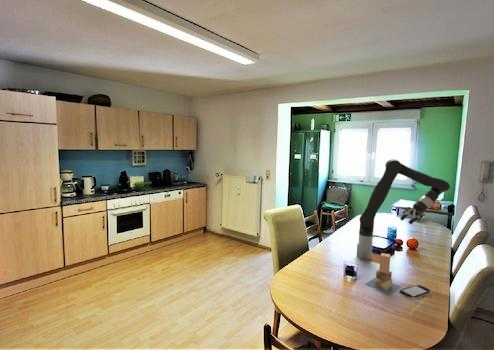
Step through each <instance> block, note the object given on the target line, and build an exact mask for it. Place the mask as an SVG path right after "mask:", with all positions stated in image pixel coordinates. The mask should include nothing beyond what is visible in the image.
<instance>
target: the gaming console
mask: <svg viewBox="0 0 494 350" xmlns="http://www.w3.org/2000/svg"><path fill="white" fill-rule="evenodd" d="M398 293H399V294H400V295H401V296H402V297H404V298H406V299H409V300H417V299H420V298H423V297H426V296H430V295H431V294H432V290H431V289H429V288H428V287H427V286H423V285H420V284H417V285H412V286H408V287H405V288H402V289H400V290H398Z"/></svg>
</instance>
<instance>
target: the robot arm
mask: <svg viewBox="0 0 494 350" xmlns="http://www.w3.org/2000/svg"><path fill="white" fill-rule="evenodd" d="M398 174H399V175H402V176H404V177H406V178H409V179H410V180H412V181H414V182H416V183H418V184H420V185H423V186H426V187H430V188H429V190H428V191H426V192H425V194H424V195H422V196H421V197H419V198H418V200H417V201H415V202H414V203H413V204H412V207H410V206H408V207H406V209H405V210H403V211H402V212H401V213H402V214H403V215H401V217H400V218H399V220H400V221H402V222H403V221H404V220H405V219H406V218H407V217H411V216H412V218H410V220H408V223H409V225H412V224H414V222H415V221H417V222H418V221H421V220H422V219H423V217H424V216H425V215H426V214H425V212H426V211H427V210H428V209H429V208H430V207H431V206H432V205H433V204H434V203H435V202H436V201H437V200H438V199H439V196H440V195H441V194H442V193H444V192H448V191H449V190H450V188H451V185H450V183H449V182H448V181H446V180H444V179H441V178H438V177H433V176H431V175H428V174H427V173H424V172H421V171H420V170H419V171H418V170H416V169H413V168H410V167H408V166H406V165H404V164H403V163H401V162H400V161H399V160H397V159H388V160H387V161H386V163H385V170H384V171H383V175H382V177H381V178H380V180H379V181H378V183H376V185H375V187H374V189H373V190H372V192H371V195H370V197H369V200H368V202H367V206H366V208H364V211H363V213H362V214H361V215H360V217H359V229H358V230H359V231H358V242H357V245H356V257H358V258H359V259H362V260H371V259H372V255H373V252H372V251H373V237H374V229H375V227H374V226H375V217H376V215H377V213H378V211H379V209H380V208H381V207H382V205H383V203H384V202H385V200H386V199H387V196H388V194H389V193H390V190H391V187H392V185H393V182H394V180H395V179H396V177H398Z"/></svg>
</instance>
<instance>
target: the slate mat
mask: <svg viewBox="0 0 494 350" xmlns="http://www.w3.org/2000/svg"><path fill="white" fill-rule="evenodd" d="M374 282H375V277H374V278H372V279H371V280H369V281H367V282H366V283H365V284H364V285H365V286H367V287H369V288H372V289H374V290H377V291H379V292H382V293H384V294H386V295H389V296H392V295H393V294H395V293H396V292H397V291H400V290H401V288H402V287H403V286H402V285H399V284H397V283H394V282H392V286H391V287H390V288H389V289H387V290H385V289H383V288H380V287H378V286H375V285H374Z"/></svg>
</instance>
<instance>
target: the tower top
mask: <svg viewBox="0 0 494 350" xmlns="http://www.w3.org/2000/svg"><path fill="white" fill-rule="evenodd" d="M375 274H376V275H375V277H376V278H378V279H381V280H383V281H386V282H387V281H388V280H390V279H391V278H392V274H393V273H392V271H390V270H389V273H388V274H385V273H381V272H379V269H378V270H376V273H375Z"/></svg>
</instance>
